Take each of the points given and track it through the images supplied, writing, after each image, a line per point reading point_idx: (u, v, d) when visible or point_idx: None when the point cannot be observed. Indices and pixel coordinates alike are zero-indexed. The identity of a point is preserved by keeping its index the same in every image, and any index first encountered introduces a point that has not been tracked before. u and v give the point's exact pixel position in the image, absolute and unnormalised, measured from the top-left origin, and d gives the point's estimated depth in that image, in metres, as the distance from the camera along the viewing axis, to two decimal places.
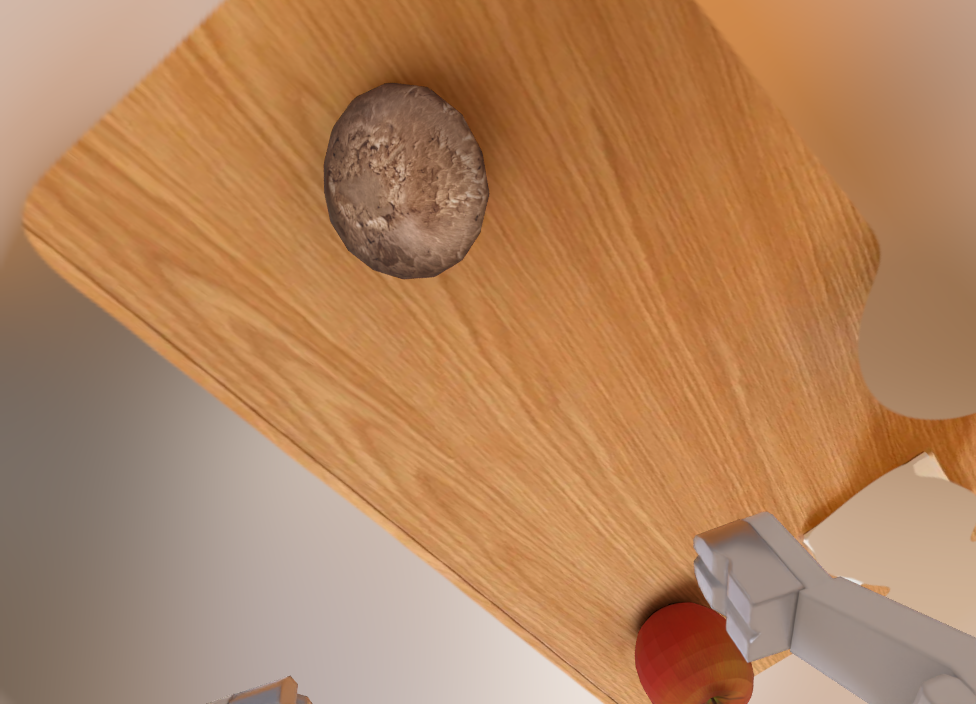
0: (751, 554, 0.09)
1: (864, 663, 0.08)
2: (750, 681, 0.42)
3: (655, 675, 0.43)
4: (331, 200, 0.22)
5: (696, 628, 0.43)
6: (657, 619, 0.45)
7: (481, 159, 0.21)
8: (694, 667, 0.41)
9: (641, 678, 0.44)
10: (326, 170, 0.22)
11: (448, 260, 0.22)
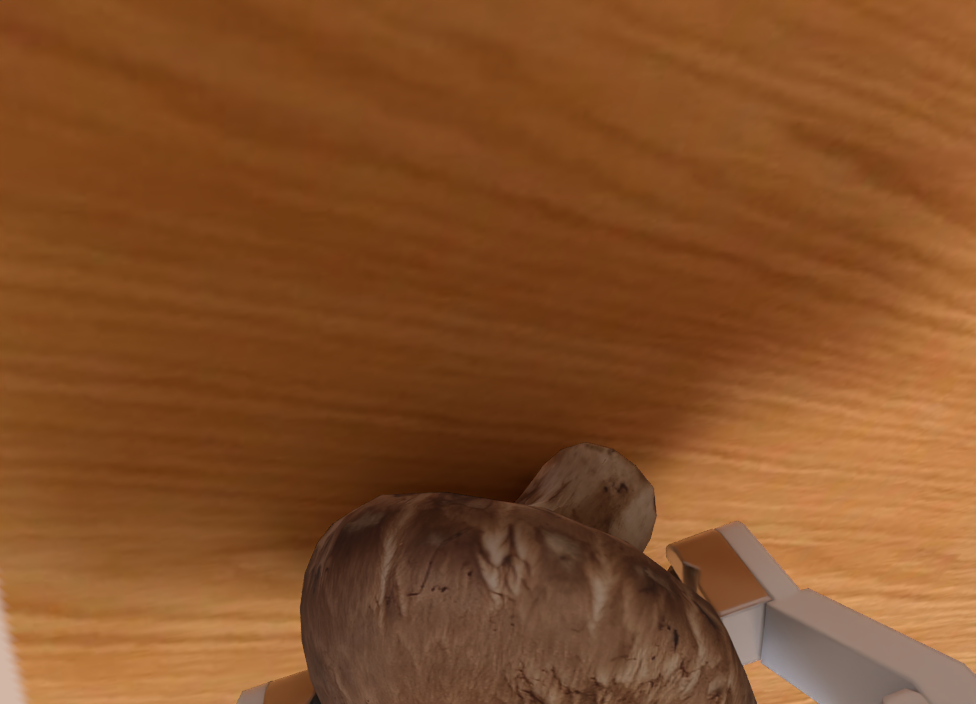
0: (721, 565, 0.09)
1: (831, 675, 0.08)
2: None
3: None
4: None
5: None
6: None
7: (663, 603, 0.07)
8: None
9: None
10: None
11: None
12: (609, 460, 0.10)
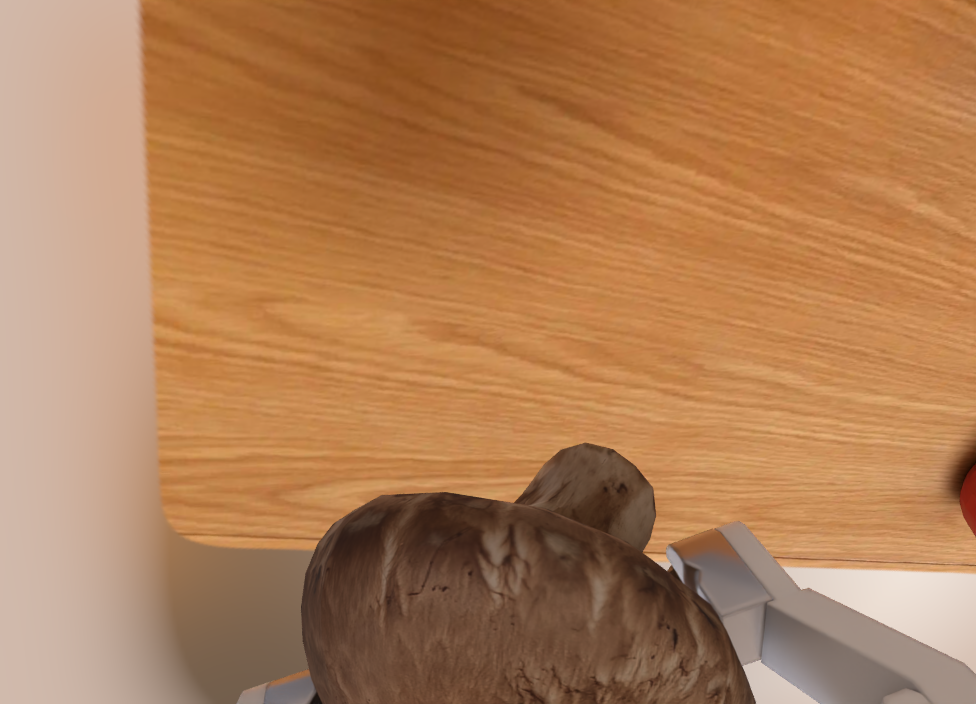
0: (721, 564, 0.09)
1: (831, 675, 0.08)
2: None
3: None
4: None
5: None
6: None
7: (662, 602, 0.07)
8: None
9: None
10: None
11: None
12: (609, 460, 0.10)
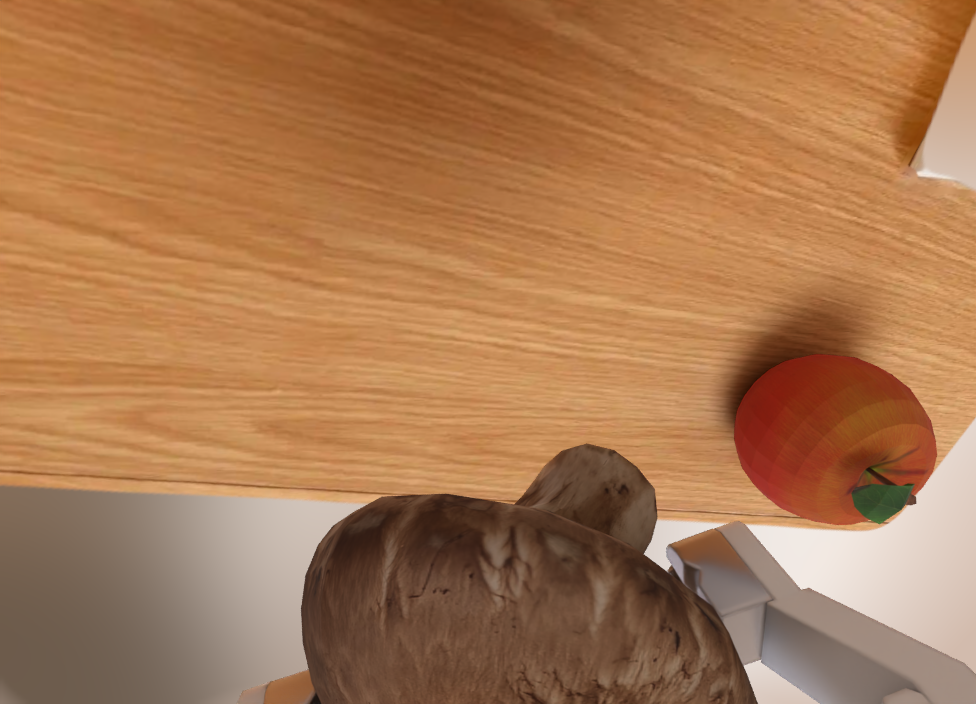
0: (721, 564, 0.09)
1: (831, 675, 0.08)
2: (912, 422, 0.26)
3: (765, 482, 0.29)
4: None
5: (788, 394, 0.28)
6: (742, 409, 0.31)
7: (664, 605, 0.07)
8: (804, 448, 0.26)
9: (760, 490, 0.31)
10: None
11: None
12: (610, 461, 0.10)
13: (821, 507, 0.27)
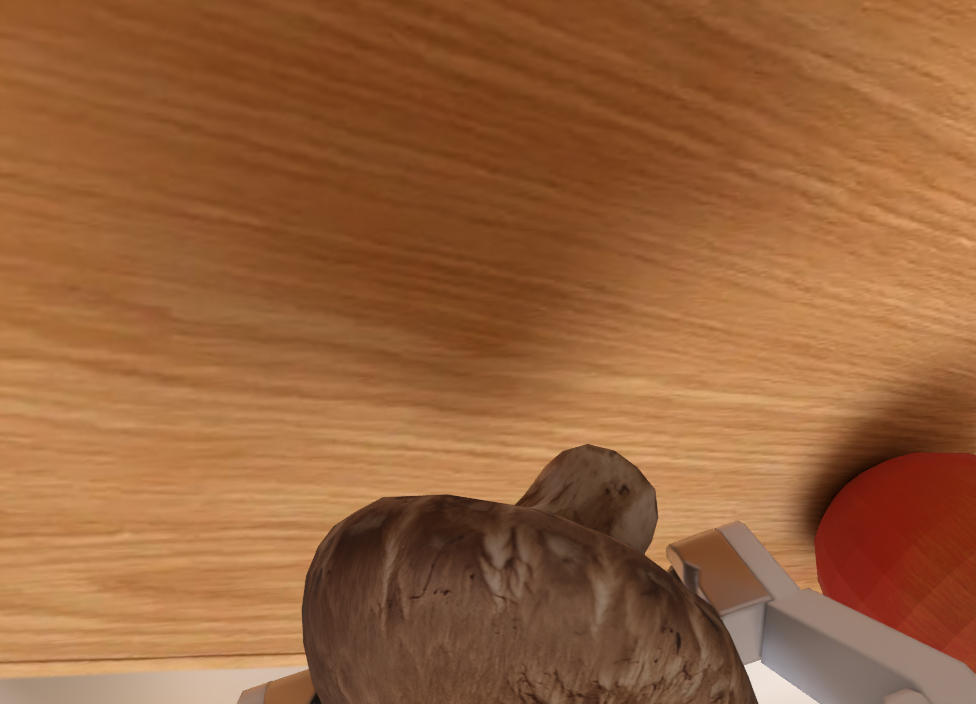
0: (721, 564, 0.09)
1: (831, 675, 0.08)
2: None
3: None
4: None
5: (915, 525, 0.18)
6: (831, 527, 0.21)
7: (665, 606, 0.07)
8: (951, 620, 0.17)
9: None
10: None
11: None
12: (610, 462, 0.10)
13: None
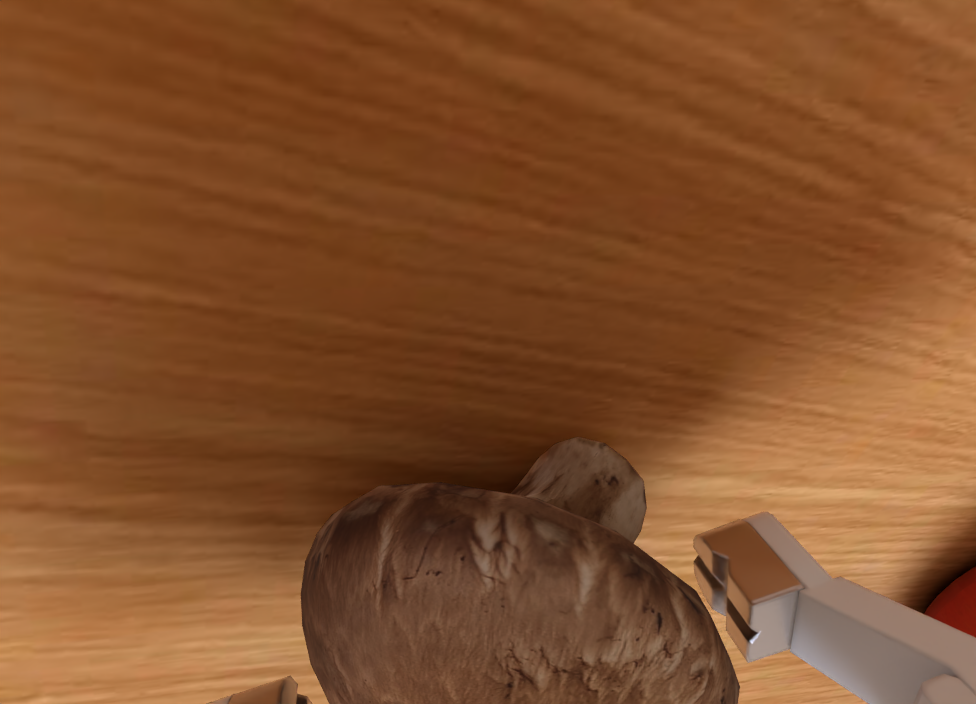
0: (751, 554, 0.09)
1: (863, 663, 0.08)
2: None
3: None
4: None
5: None
6: None
7: (647, 588, 0.07)
8: None
9: None
10: None
11: None
12: (600, 454, 0.11)
13: None
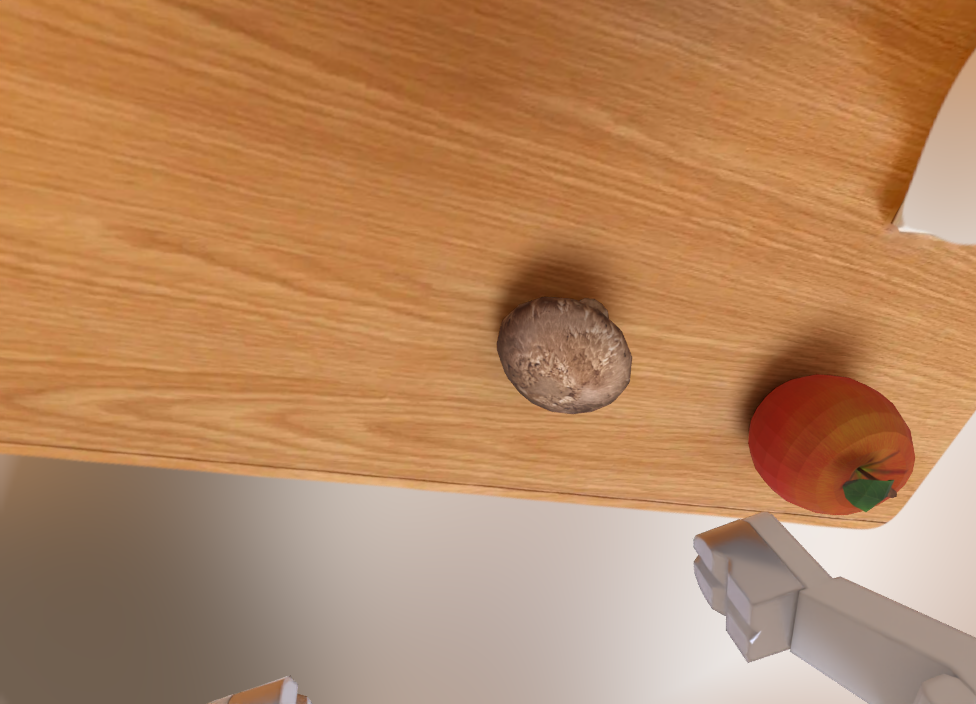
0: (751, 554, 0.09)
1: (865, 663, 0.08)
2: (893, 430, 0.32)
3: (774, 479, 0.35)
4: (526, 396, 0.31)
5: (793, 407, 0.34)
6: (755, 418, 0.37)
7: (603, 318, 0.28)
8: (805, 450, 0.33)
9: (770, 487, 0.37)
10: (512, 382, 0.31)
11: (623, 388, 0.29)
12: (593, 302, 0.31)
13: (819, 499, 0.33)
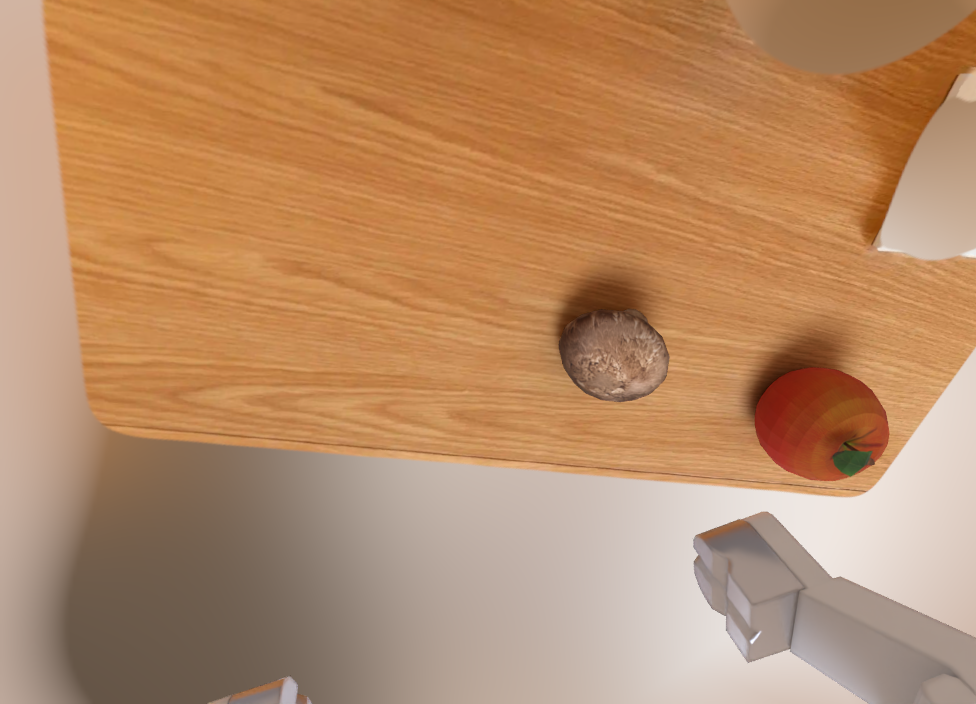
0: (751, 554, 0.09)
1: (864, 662, 0.08)
2: (872, 412, 0.40)
3: (777, 452, 0.43)
4: (583, 388, 0.38)
5: (792, 394, 0.42)
6: (760, 404, 0.45)
7: (648, 326, 0.35)
8: (802, 429, 0.41)
9: (773, 460, 0.45)
10: (572, 377, 0.38)
11: (662, 381, 0.37)
12: (635, 312, 0.39)
13: (813, 468, 0.42)
